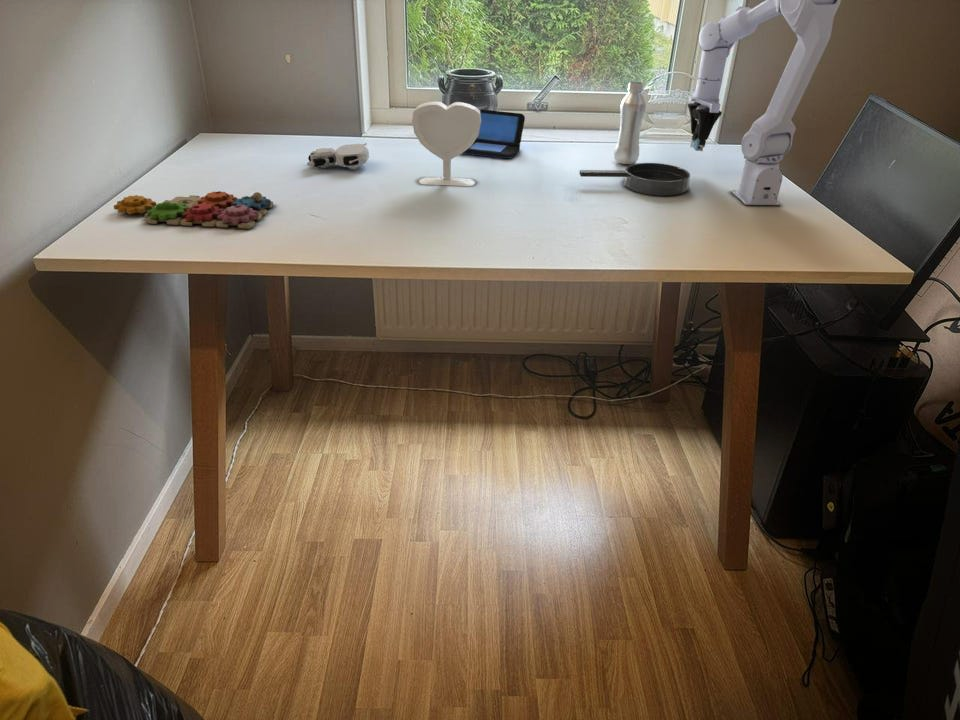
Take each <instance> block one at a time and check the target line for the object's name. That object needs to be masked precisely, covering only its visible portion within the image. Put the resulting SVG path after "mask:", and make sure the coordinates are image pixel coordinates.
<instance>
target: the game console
mask: <svg viewBox="0 0 960 720" xmlns="http://www.w3.org/2000/svg"><path fill="white" fill-rule="evenodd" d="M478 109H479V110H480V115H481V124H480V130H479V135H478V137H477V138H476V140H475V141H474V143H473V144H472V146H471V147H469V148H468V149H467V150H466V151H464V152H463V153H462V154H465V155H473V156H481V157H489V158H490V157H491V158H496V159H497V158H498V159H506V160H507V159H509V160H510V159H512V158H514V156H515V155H517V154H518V152H520V151H521V143H522V142H521V141H522V138H523V131H524V126H525V122H526V120H525V119H526V117H525V115H524V114H523V113H518V112H510V111H502V110H501V111H499V110H490V109H482V108H478Z"/></svg>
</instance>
